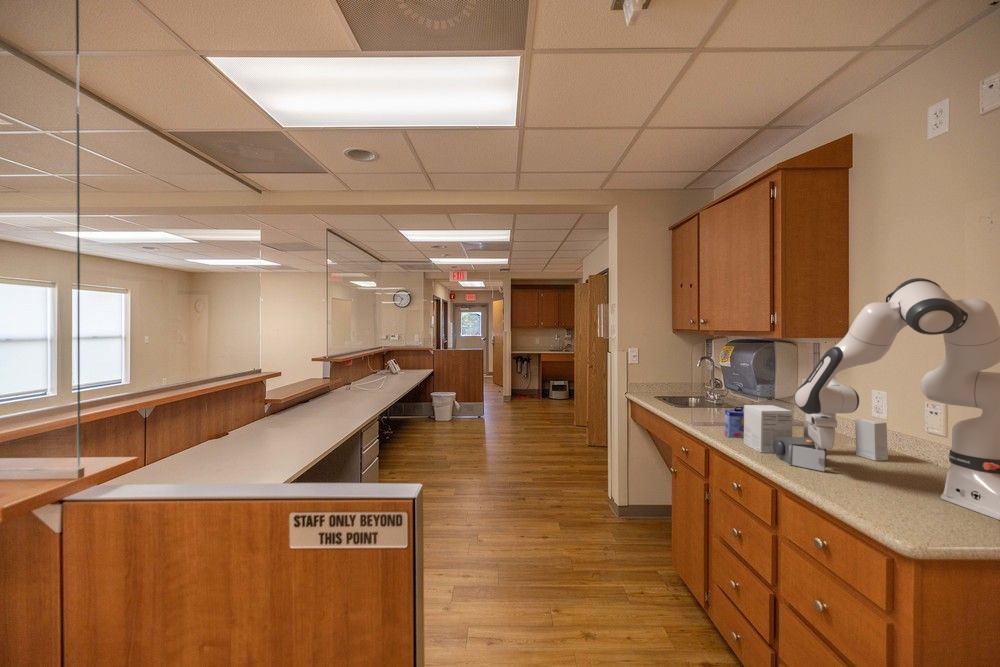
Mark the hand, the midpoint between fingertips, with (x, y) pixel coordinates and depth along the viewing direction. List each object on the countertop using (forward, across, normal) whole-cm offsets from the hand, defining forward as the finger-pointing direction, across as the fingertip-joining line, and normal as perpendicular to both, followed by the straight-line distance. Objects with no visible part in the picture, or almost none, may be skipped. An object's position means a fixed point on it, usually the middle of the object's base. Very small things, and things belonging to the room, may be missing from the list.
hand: (819, 454), depth 155 cm
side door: (+5, +2, -4) cm, 7 cm away
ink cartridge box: (+5, -38, -24) cm, 45 cm away
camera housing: (+5, -7, -5) cm, 10 cm away
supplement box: (+5, -21, -14) cm, 26 cm away
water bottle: (+5, -25, +3) cm, 26 cm away
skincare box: (+5, -25, +22) cm, 34 cm away
